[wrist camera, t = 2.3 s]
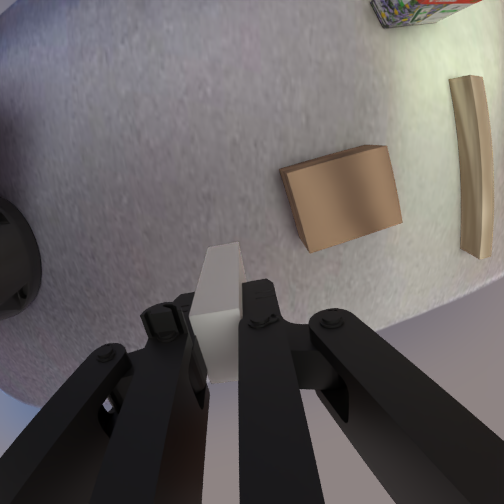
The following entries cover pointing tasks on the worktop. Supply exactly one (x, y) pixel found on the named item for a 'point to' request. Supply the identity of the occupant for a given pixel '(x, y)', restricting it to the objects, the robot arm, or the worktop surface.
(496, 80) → the worktop surface
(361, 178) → the walnut block
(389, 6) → the ink box
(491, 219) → the birch board
